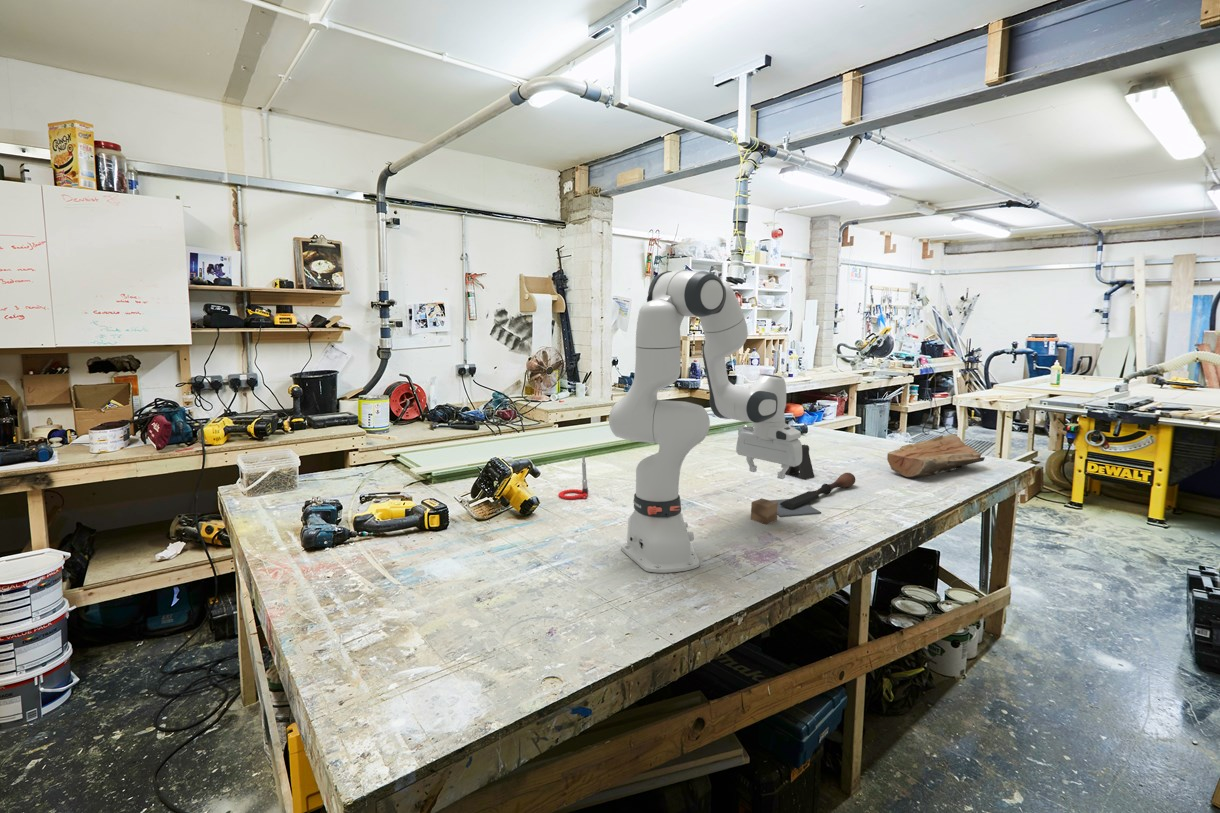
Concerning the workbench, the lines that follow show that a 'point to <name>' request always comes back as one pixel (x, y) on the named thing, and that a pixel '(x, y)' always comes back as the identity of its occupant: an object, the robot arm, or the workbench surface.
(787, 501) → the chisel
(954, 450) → the log
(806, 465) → the phone stand
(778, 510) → the charcoal mat
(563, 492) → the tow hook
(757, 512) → the walnut block
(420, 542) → the workbench surface
